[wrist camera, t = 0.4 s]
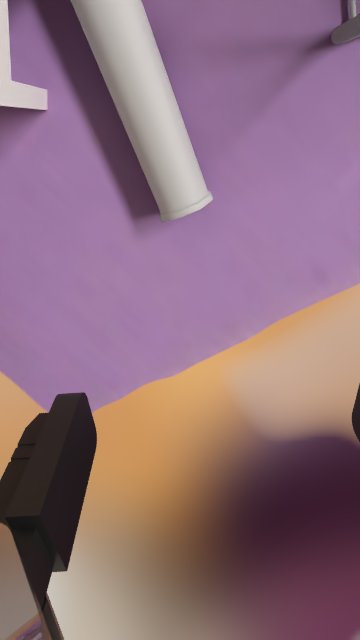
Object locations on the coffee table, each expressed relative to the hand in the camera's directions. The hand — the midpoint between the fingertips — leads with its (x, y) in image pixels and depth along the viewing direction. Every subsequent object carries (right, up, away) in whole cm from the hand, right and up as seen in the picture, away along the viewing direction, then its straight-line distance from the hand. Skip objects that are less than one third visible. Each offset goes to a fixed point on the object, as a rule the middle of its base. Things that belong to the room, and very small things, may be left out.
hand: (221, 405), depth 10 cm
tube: (-5, +24, +19) cm, 31 cm away
